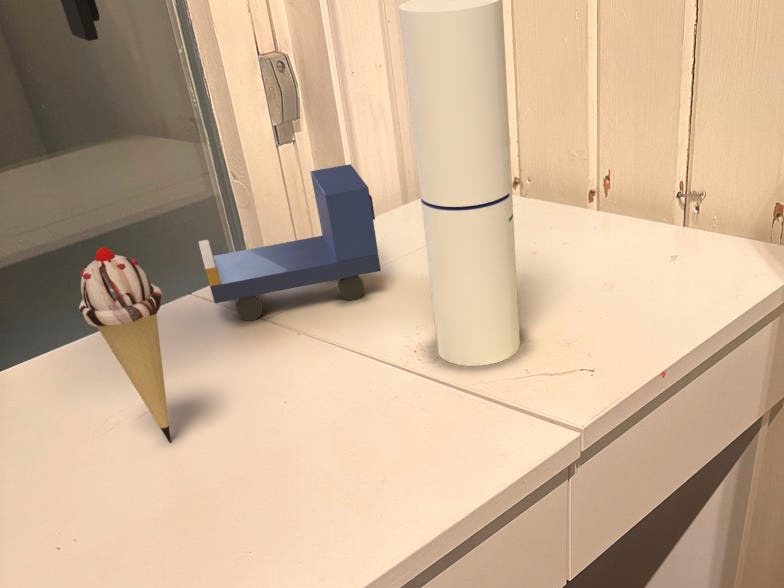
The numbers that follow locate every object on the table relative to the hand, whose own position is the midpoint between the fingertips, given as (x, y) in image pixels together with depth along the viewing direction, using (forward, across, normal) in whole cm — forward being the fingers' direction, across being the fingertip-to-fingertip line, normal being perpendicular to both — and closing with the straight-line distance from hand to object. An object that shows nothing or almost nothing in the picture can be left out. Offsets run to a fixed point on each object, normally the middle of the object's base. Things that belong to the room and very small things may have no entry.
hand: (8, 53), depth 55 cm
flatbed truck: (+26, -22, -15) cm, 37 cm away
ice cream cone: (+26, -1, +3) cm, 26 cm away
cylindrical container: (+26, -28, +7) cm, 39 cm away
